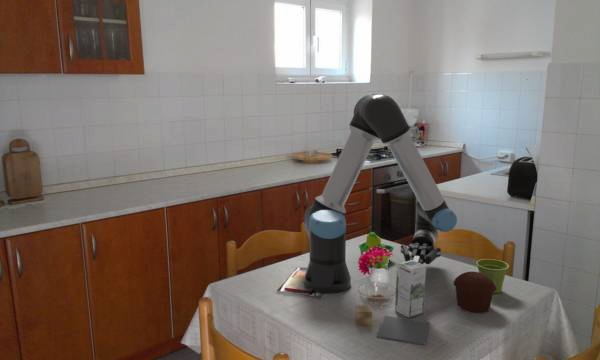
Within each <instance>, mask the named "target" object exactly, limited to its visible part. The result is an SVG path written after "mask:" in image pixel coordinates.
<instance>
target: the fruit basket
mask: <svg viewBox="0 0 600 360" xmlns="http://www.w3.org/2000/svg"><path fill="white" fill-rule="evenodd" d="M381 241H382V239H381V237H380V236H378V235H377V234H376V233H375V232H374V231H371V232H369V233H368V234H367V235H366V241H365V242H363V243H361V244H359V245H358V248H359V250H360V254H362V253H363V252H365V251H367V250H368V249H370V248H372V247H374V246H378V247H382V248H386V249H388V250H389V251H390V252H392V253H393V250H394V249H395V247H394V246H392V245H386V244H384V243H381ZM390 259H391V258H390ZM390 259H389V260H388V261H390Z"/></svg>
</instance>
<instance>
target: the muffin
mask: <svg viewBox="0 0 600 360" xmlns="http://www.w3.org/2000/svg"><path fill="white" fill-rule="evenodd" d="M453 285H454V287H455V293H456V302H457V303H456V304H457V307H459V308H460V309H461V310H463V311H466V312H468V313H472V314H484V313H488V312H489V310H490V308H491V304H492V299H493V297H494V296H493V295H494V293H493V292H495V290H496V286H495V284H494V282H493V281H492V279H490V278H489V277H488V276H486V275H484V274H482V273H479V271H465V272H463V273H461V274H459V275H457V277H455V279H454V280H453Z"/></svg>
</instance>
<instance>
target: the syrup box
mask: <svg viewBox="0 0 600 360" xmlns="http://www.w3.org/2000/svg"><path fill="white" fill-rule="evenodd" d="M426 270H427V266H426V265H424V264H421V263H419V262H416V261H413V260H410V261H407V262H406V261H404V262H403V261H402V262H399V263H397V264H396V281H395V282H396V283H395V285H396V286H395V287H396V288H395V305H394V310H395V311H396V312H397V313H398V314H400V315H402V316H405V317H406V318H407V319H411V318H414V317H416V316H419V315H422V314H424V309H425V308H424V306H425V305H424V304H425V293H426V292H425V291H426V290H425V289H426V272H427V271H426Z"/></svg>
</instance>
